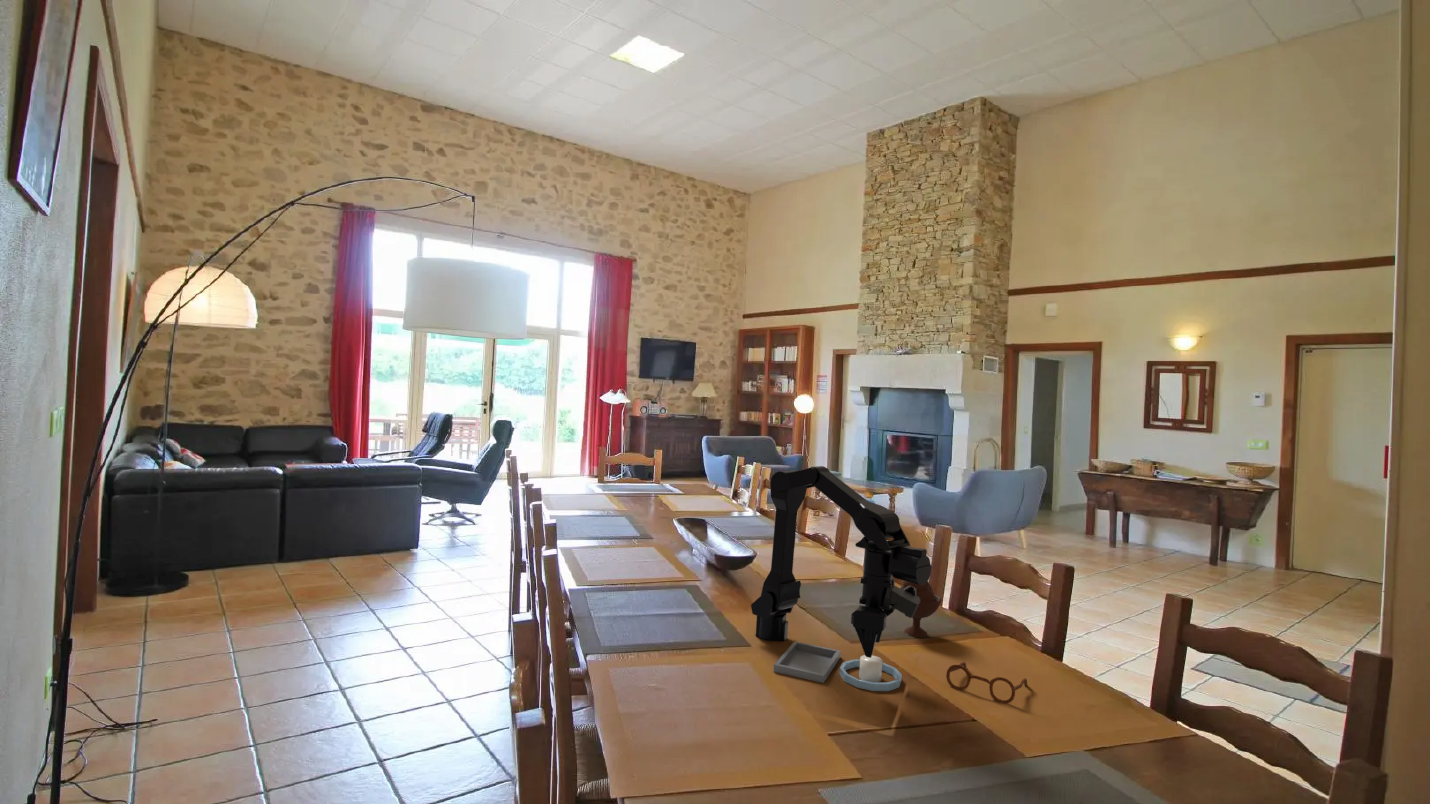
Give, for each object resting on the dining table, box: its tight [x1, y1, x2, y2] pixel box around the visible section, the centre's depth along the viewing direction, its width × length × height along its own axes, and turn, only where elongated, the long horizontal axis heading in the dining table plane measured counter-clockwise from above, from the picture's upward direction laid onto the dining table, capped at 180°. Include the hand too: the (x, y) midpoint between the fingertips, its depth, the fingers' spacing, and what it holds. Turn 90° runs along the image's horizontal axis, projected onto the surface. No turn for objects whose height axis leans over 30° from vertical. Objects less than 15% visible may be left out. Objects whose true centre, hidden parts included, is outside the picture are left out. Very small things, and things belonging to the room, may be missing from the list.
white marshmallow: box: [858, 654, 883, 683], centre depth 139 cm, size 4×4×4 cm
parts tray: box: [773, 641, 842, 684], centre depth 144 cm, size 10×15×2 cm
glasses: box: [945, 661, 1028, 704], centre depth 141 cm, size 13×13×5 cm
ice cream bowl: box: [900, 580, 942, 638], centre depth 169 cm, size 11×11×15 cm
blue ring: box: [839, 658, 903, 692], centre depth 139 cm, size 12×12×2 cm
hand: (872, 649), depth 139 cm, fingers open, 9 cm apart
